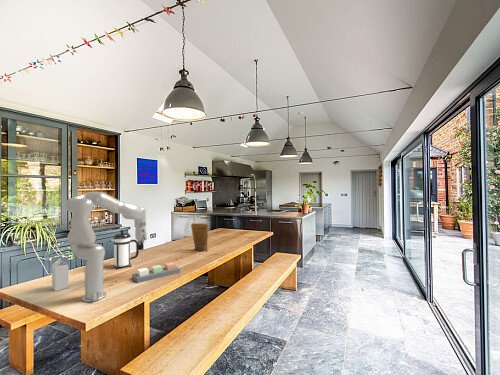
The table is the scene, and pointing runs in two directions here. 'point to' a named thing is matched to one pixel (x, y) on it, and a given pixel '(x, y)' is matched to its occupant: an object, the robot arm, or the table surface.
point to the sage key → (156, 269)
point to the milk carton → (59, 275)
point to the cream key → (142, 272)
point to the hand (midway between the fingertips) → (140, 249)
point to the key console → (155, 274)
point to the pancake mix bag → (200, 236)
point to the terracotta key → (169, 266)
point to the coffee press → (123, 249)
